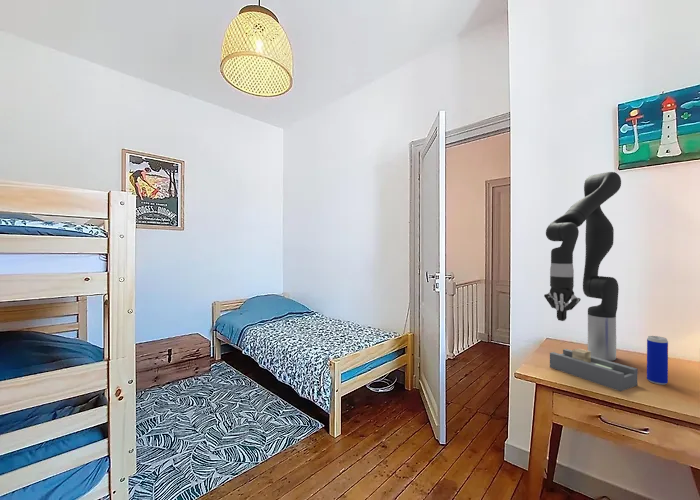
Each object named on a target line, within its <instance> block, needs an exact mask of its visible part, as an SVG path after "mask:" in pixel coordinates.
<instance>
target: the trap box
mask: <svg viewBox="0 0 700 500" xmlns="http://www.w3.org/2000/svg"><path fill="white" fill-rule="evenodd" d="M572 350H573V349H572ZM572 350H571V349H568V348H565V349H562V353H557V352H555V351H551V352H549V368H551V369H555V370H557V371H559V372H563V373H566V374H568V375H572V376H574V377H576V378H581V379H583V380H586V381H589V382H591V383H595V384H598V385H601V386H604V387H606V388H610V389H612V390H615V391H618V392H623V391H625V390H628V389H632V388H634V387H636V386H638V370H639V369H638V368H636V367H632V366H629V365H625V364H621V363H618V362H614V361H608V360H604V359H601V358H597V357H593V356H591V363H588V362H585V361H582V360H578V359H575V358H572Z"/></svg>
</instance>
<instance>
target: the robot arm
mask: <svg viewBox="0 0 700 500" xmlns="http://www.w3.org/2000/svg"><path fill="white" fill-rule="evenodd" d="M583 184H584V185H583V193H584V197H583V198H581V199H579V200H578V201H576V202H574V203H573V204H572V205H571V206H570V208H568V210H567V211H566V212H565V213H564V214H563V215H560V216H559V217H557V218H556V219H554V220H553V221H552V222H551V223H550V224H548V226H547V227H546V230H545V236H546V238H547V239H548V240H549V241H551V242H561V245H560V246H558V247H554V248H552V249H551V250H550V269H549V271H550V272H549V286H550V290H549V292H548V293H546V294H544V296H543V297H544V298H545V300H546V301H547V302H548V304H549V305H550V307H551V308H552V309H555V310H556V318H557V320H558V321H560V322H565V321H566V320H567V317H568V316H567V312H568V311H572V310H573V309H574V308H575V307H576V306H577V305H578V304H579V303H580V301H581V298H580V297H577V296H576V295H575V292H574V286H575V285H574V282H575V281H574V279H575V277H574V275H575V274H574V262H573V261H574V260H573V259H574V256H573V255H574V250H575V246H576V243H577V242H578V237H579V234H580V233H579V232H580V231H579V227H580V226H582V225H583V223H584V222H585V240H584V241H585V257H584V258H585V259H584V270H583V276H582V291H583V294H584V295H585V297H588V298H593V299H600V300H601V302H600V303H599V304H598V305H594V306H593V305H592V306H589V307H588V308H587V351H591V356H593V357H597V358H601V359H604V360H608V361H611V362H614V361H616V359H617V311H618V305H619V304H618V303H619V290H620V289H619V282H618V280H617V279H616V278H615V277H611V276H603V275H599V270H600V269H599V268H600V265H601V263H602V261H603V260H604V259H605V257H606V256H607V255H608V254H609V252H610V250H611V249H612V247H613V245H614V238H615V237H614V234H615V233H614V227H613V224H612V222H611V221H610V219H609V218H608V217H607V216H606V214H605V213H604V212H603V210H602V208H601V205H603V204H604V203H605V202H606V201H608V200H609V199H610V198H612V197H613V196H614V195H615V194H617V193H618V191H619V190H620V189H621V187H622V186H621V185H622V179H621V177H620V175H619V173H617V172H614V171H606V172H603V173H597V174H592V175H589V176H587V177H586V178H585V180H584V183H583Z"/></svg>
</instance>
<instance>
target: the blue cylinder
mask: <svg viewBox="0 0 700 500" xmlns="http://www.w3.org/2000/svg"><path fill="white" fill-rule="evenodd" d="M646 379H647V381H648V382H650V383H652V384H656V385H662V386H664V385H667V384H668V383H669V341H668V339H667V338H666V337H662V336H658V335H648V336H647V339H646Z"/></svg>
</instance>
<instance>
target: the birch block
mask: <svg viewBox="0 0 700 500" xmlns="http://www.w3.org/2000/svg"><path fill="white" fill-rule="evenodd" d="M572 358H575V359H578V360H582V361H585V362H588V363H591V351H588V349H587V350H586V349H583V348H575V349H572Z"/></svg>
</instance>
